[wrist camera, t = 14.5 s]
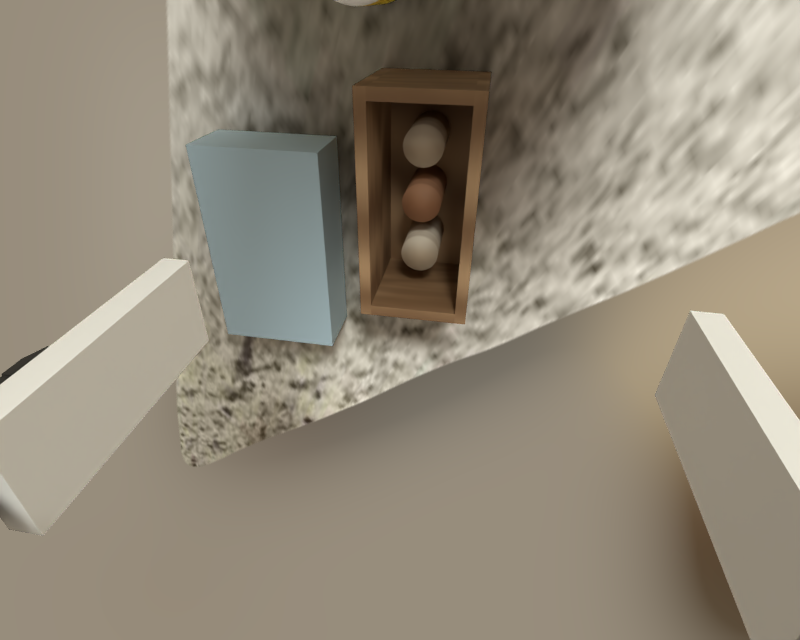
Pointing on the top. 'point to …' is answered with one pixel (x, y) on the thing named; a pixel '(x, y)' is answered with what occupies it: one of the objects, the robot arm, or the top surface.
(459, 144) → the box
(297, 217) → the light blue block
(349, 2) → the pill bottle
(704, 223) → the top surface
